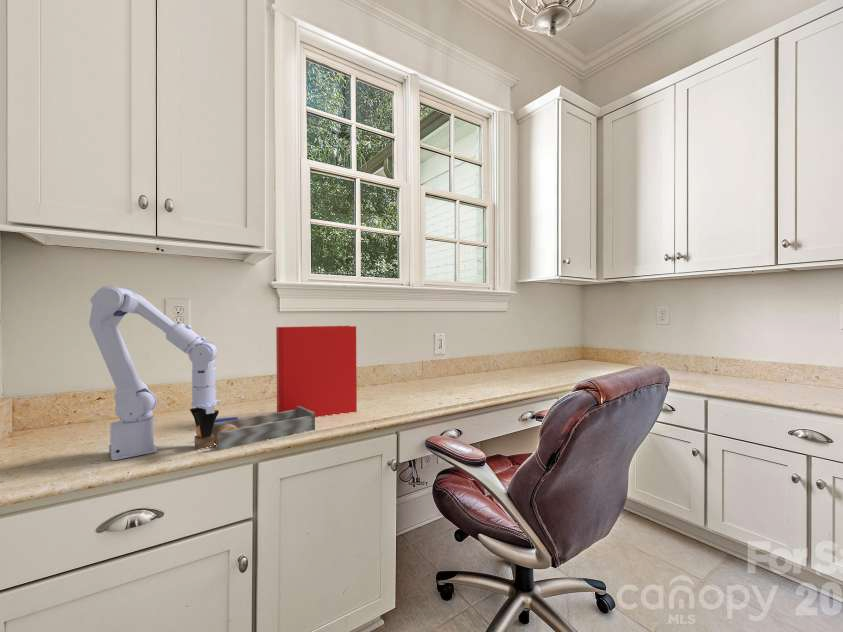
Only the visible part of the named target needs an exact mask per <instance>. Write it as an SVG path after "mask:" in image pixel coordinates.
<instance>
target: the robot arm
mask: <svg viewBox="0 0 843 632" xmlns="http://www.w3.org/2000/svg"><path fill="white" fill-rule="evenodd" d="M89 300H90V303H91V310H90V316H89V320H88V322H89V323H88V325H89V328H90V330H91V332H92V334H93V338H94V339H95V342H96V344H97V347H98V349H99V351H100V353H101V356H102V358H103V361H104V363H105V365H106V368H107V370H108V373H109V374H110V376H111V379H112V381H113V384H114V386H115V391H114V395H113V400H114V401H115V409H114V410H115V411H114V412H115V414H116V416H117V418H119V420H118V421H113V422H110V424H109V445H108V452H109V454H110V458H111V461H117V460H122V459H123V460H124V459H127V458H131V457H137V456H138V457H139V456H141V455H143V456H144V455H147V454H153V452H154V453H157V452H158V449H157V447H156V446H155V444H154V443H155V442H154V441H155V440H154V414H153V413H154V412H153V410H154V408H155V407H156V405H157V403H158V402H157V397H156V395H155V393H153V392H152V391H151V390H150V389H149V388H148V385H147V384H146V383H145V382H144V381H143V380H141V378H140V376H139V373H138V371H137V370H136V367H135V364H134V362H133V360H132V357H131V356H130V353H129V350H128V348H127V345H126V344H125V340H124V339H123V336H122V334H121V332H120V329H119V327H118V325H119V324H120V322H121V321H122V320H123V318H124V317H125V316H127V314H128V313H131V314H137V315H139V316H140V317H142V318H144V319H145V320H146V321H148V322H149V323H150V324H152V325H154V326H155V327H157V328H158V329H160V330H161V331H162V332H164V333H165V339H166V340H167V341H168V342H169V343H170V344H172V345H173V346H175V347H176V348H178V349H179V350H180V351H182V352H183V353H184V354H186V355H188V356H187V357H188V359H189V361H190V362H191V363H192V364H191V365H192V369H191V395H192V396H191V400H192V401H191V403H190V404H191V407H192V408H190V409H189V411H190V413H191V414H192V416H193V419H194V422H195V428H196V429H197V427H198V426H200V432H201V436H202V438H205V437H210V436H211V434H212V429H213V425H214V422H215V419H217V416H218V415H219V413H220V411H219V410H217V409H216V405H217V404H219V403H220V404H221V399H220V398H219V399H217V391H216V387H217V384H216V382H217V381H216V376H217V375H216V374H217V373H216V360H215V359H216V357H217V355H218V348H217V346H216V345H215V344H214V343H213V342H212V341H207V339H206V337H205V336H202V337H201V336H200V335H199V334H197V333H196V332H195V331H193V329H192V328H193V327H192V326H191V325H190V324H184V323H175V322H174V321H173V320H171V319H170V318H169V317H168V316H167V315H165V314H164V313H163V312H162V311H160V310H159V308H157V306H155V305H153V304H152V303H151V302H149V301H148V299H146V298H145V297H144V296H143V295H140V294H138V293H136V291H134V290H133V289H131V288H127V287H116V286H112V285H106V286H102V287H100V288H98V289H97V290H96V292H95V293H94V294H93V296H91V298H90V299H89ZM215 409H216V410H215Z"/></svg>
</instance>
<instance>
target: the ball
mask: <svg viewBox="0 0 843 632" xmlns="http://www.w3.org/2000/svg"><path fill="white" fill-rule="evenodd" d="M212 430H213V429H212ZM195 434H196V436H197V435H198V436H199V437H201V438H202V436H201V432H200V426H198V427H197V428H196V429H195Z"/></svg>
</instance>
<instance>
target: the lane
mask: <svg viewBox="0 0 843 632" xmlns="http://www.w3.org/2000/svg"><path fill="white" fill-rule="evenodd" d="M310 430H311V431H315V430H316V417H315V412H313V411H310V410H308V409H306V408H303V407H301V406H297V409H296V410H290V411H284V412H278V413H277V412H274V413H267V414H261V415H255V416H251V417H250V416H249V417H243V418H238V419H237V420H231V421H225V422H219V423H214V425H213V430H212V435H213V436H214V443H215V444H216V445H217V447H216V449H217V451H221V450H226V449H230V448H235V447H240V446H244V445H249V444H253V443H258V442H263V440H264V441H268V440H267V439H269V440H273V439H272V438H274V439H277V438H276V437H278V438H281V436H283V437H287V436H286V435H288V436H290V435H289V434H292V435H295V434H294V433H297V434H300V433H299V432H302V433H305V432H304V431H307V432H311V431H310Z"/></svg>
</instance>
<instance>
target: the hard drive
mask: <svg viewBox="0 0 843 632" xmlns="http://www.w3.org/2000/svg"><path fill="white" fill-rule="evenodd" d="M237 419H239V417H238V416H232V417H231V416H230V417H223V418H222V417H221V418H216V419H215V422H214V423H219V422H225V421H231V420H237Z"/></svg>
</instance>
